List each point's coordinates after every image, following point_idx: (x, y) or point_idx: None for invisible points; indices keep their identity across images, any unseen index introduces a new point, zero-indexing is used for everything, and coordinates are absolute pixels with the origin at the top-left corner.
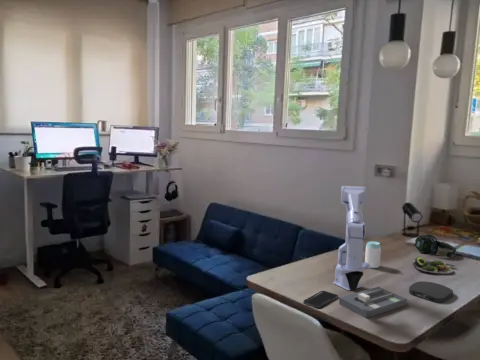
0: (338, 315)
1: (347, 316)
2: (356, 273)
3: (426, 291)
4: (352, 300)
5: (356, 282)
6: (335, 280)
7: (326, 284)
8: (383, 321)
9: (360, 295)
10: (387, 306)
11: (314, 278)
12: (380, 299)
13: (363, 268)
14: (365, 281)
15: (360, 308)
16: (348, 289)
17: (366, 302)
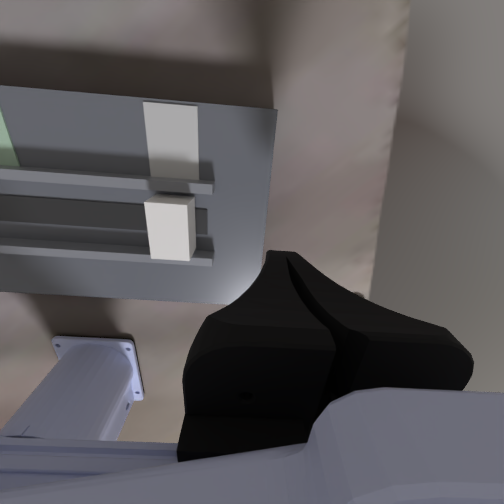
0: (355, 218)
1: (332, 187)
2: (313, 390)
3: None
4: (227, 256)
5: (290, 283)
6: (131, 404)
7: (172, 399)
8: (221, 9)
9: (189, 244)
10: (82, 93)
11: (176, 435)
12: (74, 171)
13: (152, 484)
14: (4, 357)
15: (271, 166)
16: (129, 343)
17: (199, 182)
